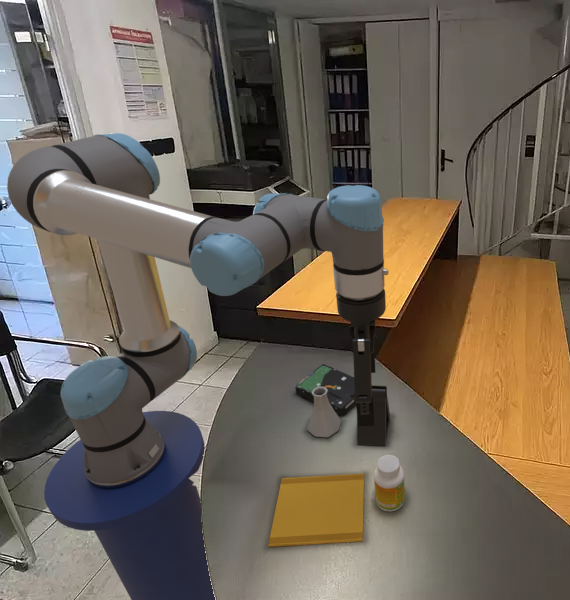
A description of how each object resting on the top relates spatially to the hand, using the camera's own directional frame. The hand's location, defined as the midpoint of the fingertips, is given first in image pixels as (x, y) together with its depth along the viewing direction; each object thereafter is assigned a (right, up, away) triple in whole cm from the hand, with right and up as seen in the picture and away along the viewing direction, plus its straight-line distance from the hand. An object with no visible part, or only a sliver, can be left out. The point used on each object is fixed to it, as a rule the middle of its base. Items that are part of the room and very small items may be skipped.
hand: (367, 396), depth 84 cm
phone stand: (0, -12, +21) cm, 24 cm away
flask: (-11, -11, +22) cm, 27 cm away
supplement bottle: (+4, -20, +5) cm, 22 cm away
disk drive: (-10, -6, +32) cm, 34 cm away
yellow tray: (-9, -21, +4) cm, 24 cm away
